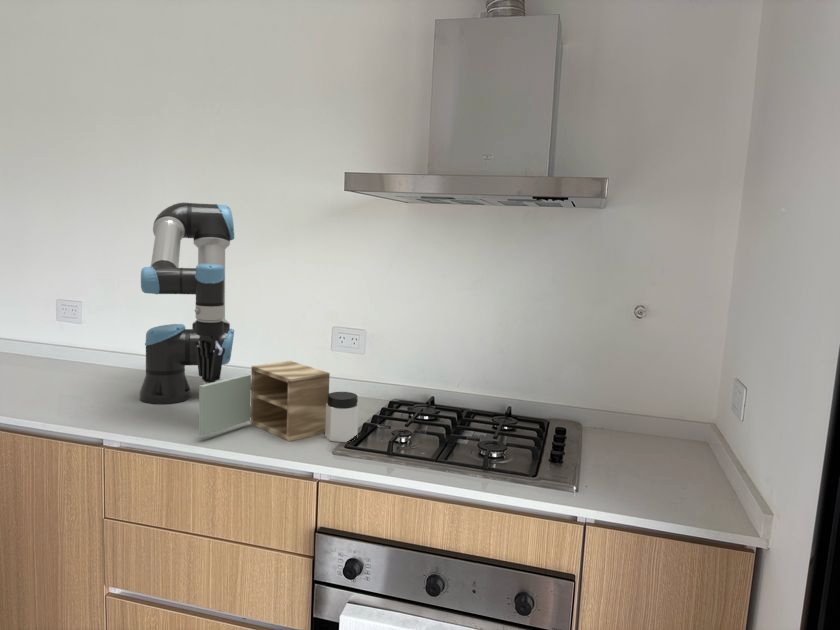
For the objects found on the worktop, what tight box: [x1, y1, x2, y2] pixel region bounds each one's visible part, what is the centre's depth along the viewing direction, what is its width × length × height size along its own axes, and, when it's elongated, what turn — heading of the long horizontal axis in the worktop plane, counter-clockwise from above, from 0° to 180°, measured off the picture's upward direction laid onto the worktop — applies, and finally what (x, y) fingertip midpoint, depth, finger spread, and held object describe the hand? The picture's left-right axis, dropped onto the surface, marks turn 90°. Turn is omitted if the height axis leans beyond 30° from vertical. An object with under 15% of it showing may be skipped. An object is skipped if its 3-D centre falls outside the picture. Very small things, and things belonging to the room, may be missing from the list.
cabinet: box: [250, 360, 331, 442], centre depth 188 cm, size 19×13×17 cm
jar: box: [324, 391, 359, 443], centre depth 183 cm, size 9×8×12 cm
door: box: [198, 373, 252, 437], centre depth 182 cm, size 18×3×13 cm, turn 151°
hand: (209, 403), depth 187 cm, fingers closed
